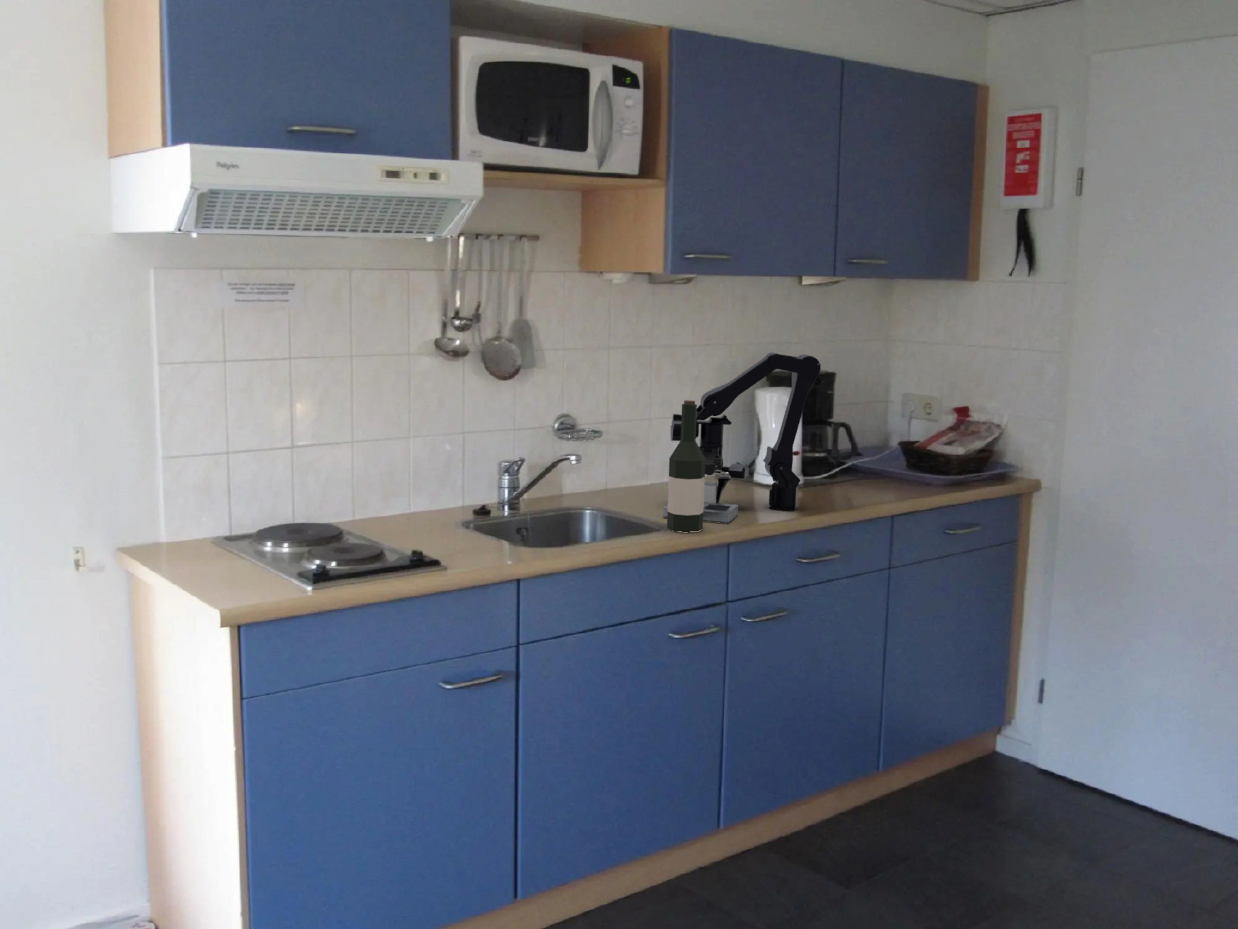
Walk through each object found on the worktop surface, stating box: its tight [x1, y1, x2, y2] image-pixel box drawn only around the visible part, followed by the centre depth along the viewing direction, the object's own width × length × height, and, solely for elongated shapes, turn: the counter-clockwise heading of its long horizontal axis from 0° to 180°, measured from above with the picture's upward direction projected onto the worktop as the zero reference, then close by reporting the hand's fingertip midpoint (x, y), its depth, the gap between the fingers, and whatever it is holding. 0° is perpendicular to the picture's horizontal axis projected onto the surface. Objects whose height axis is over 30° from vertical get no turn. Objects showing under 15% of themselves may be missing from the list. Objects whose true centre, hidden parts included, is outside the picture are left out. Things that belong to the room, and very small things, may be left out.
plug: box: [704, 480, 718, 503], centre depth 309 cm, size 4×5×6 cm
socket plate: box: [662, 502, 739, 524], centre depth 297 cm, size 16×11×3 cm
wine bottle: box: [666, 399, 706, 532], centre depth 280 cm, size 8×8×30 cm
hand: (709, 502), depth 309 cm, fingers closed on plug, 4 cm apart
